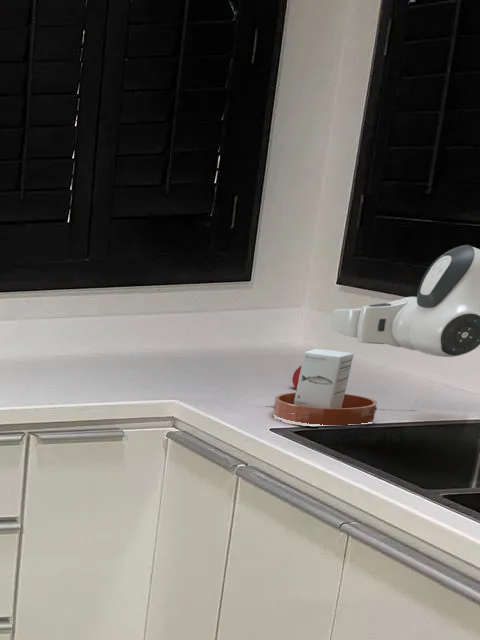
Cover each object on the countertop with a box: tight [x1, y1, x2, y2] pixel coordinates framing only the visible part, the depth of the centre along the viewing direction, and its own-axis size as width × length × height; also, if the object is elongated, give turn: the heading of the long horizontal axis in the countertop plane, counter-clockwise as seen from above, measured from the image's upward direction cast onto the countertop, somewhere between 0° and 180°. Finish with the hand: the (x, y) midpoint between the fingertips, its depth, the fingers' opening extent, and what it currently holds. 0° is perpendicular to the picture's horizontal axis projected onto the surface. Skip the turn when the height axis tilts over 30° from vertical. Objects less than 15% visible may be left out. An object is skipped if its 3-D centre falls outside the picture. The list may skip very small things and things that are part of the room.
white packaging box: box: [294, 348, 355, 408], centre depth 240 cm, size 7×7×13 cm
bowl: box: [272, 391, 378, 425], centre depth 239 cm, size 18×18×4 cm
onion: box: [291, 364, 302, 390], centre depth 263 cm, size 6×6×8 cm
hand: (371, 313), depth 221 cm, fingers open, 8 cm apart
